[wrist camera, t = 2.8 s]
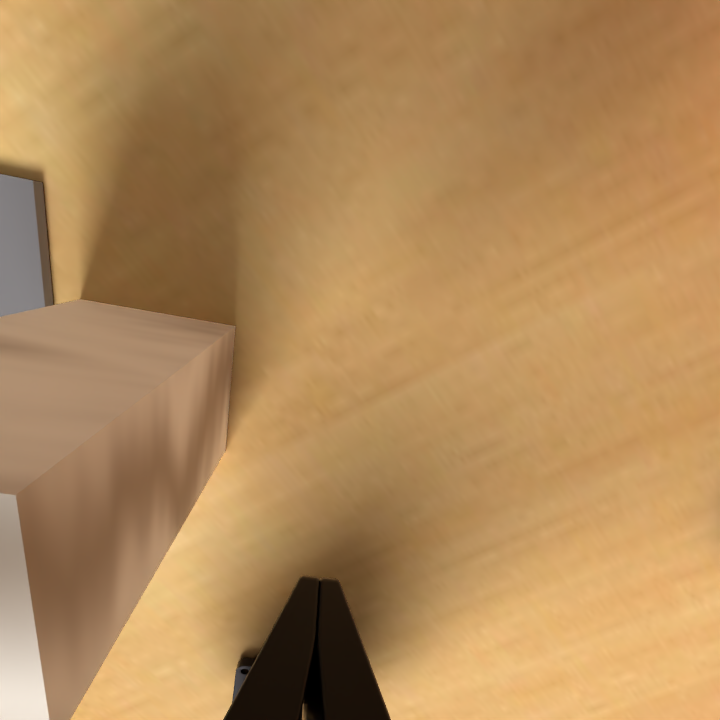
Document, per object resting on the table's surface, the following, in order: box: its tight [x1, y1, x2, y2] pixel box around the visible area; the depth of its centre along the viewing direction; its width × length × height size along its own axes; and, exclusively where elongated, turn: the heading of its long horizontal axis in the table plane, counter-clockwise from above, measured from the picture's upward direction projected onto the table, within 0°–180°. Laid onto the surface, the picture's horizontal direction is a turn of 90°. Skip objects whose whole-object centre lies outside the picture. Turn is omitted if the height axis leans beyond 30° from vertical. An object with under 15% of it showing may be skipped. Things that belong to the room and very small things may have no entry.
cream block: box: [0, 299, 236, 720], centre depth 10 cm, size 6×6×10 cm
